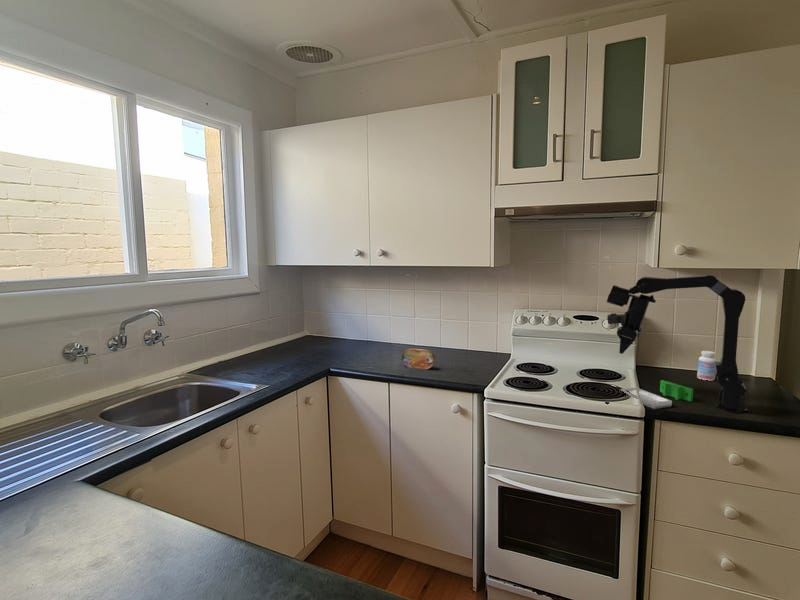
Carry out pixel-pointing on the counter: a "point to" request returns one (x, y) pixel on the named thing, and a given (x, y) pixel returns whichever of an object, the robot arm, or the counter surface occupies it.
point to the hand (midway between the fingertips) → (622, 351)
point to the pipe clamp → (676, 391)
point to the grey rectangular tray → (649, 398)
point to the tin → (418, 358)
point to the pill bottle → (706, 366)
